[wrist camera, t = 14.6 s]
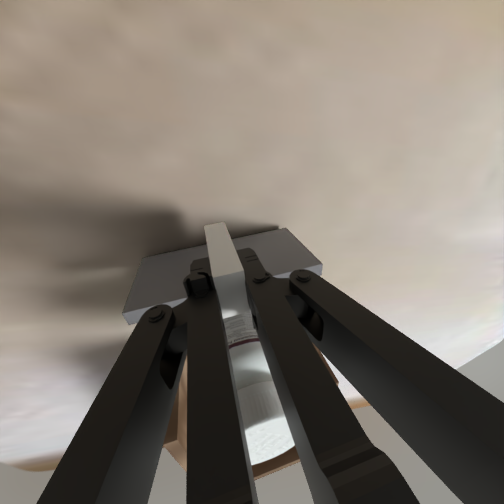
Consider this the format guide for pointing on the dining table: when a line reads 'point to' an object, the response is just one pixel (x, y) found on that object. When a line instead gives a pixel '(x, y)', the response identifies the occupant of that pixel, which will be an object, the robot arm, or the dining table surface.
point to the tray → (178, 262)
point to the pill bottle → (256, 392)
